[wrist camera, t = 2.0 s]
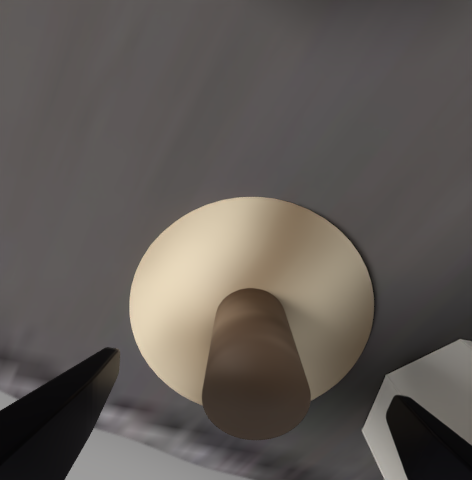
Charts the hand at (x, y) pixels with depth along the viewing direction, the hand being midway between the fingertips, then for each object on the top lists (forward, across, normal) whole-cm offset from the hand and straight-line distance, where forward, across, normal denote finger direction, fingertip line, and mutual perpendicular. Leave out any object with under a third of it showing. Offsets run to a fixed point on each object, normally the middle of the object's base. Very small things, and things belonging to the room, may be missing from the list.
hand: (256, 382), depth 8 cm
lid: (+4, 0, 0) cm, 4 cm away
